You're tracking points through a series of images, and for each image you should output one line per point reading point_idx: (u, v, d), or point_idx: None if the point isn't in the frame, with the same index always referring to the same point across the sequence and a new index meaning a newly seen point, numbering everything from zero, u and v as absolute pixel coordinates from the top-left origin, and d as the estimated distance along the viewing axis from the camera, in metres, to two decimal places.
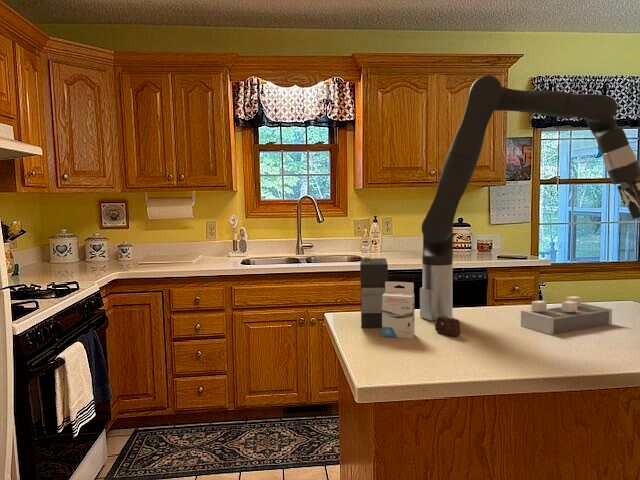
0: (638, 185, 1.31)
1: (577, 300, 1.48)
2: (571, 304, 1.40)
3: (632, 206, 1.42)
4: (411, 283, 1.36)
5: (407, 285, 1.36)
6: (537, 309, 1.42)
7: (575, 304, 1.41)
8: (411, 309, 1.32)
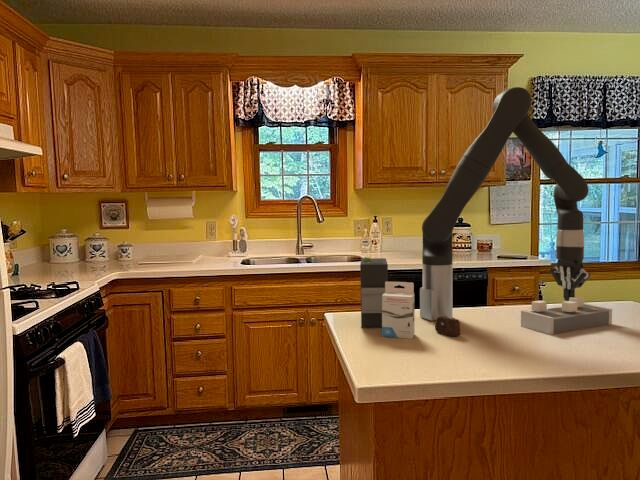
0: (586, 276, 1.44)
1: (580, 301, 1.47)
2: (571, 304, 1.40)
3: None
4: (411, 283, 1.36)
5: (407, 285, 1.36)
6: (537, 309, 1.42)
7: (575, 304, 1.41)
8: (411, 309, 1.32)
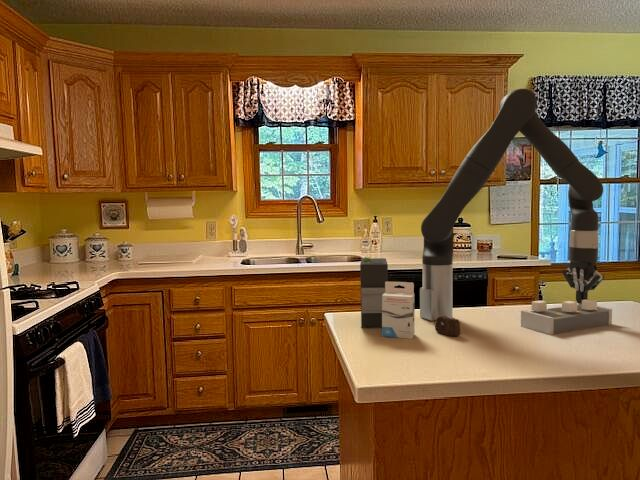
0: (600, 278, 1.40)
1: (593, 303, 1.43)
2: (571, 304, 1.40)
3: None
4: (411, 283, 1.36)
5: (407, 285, 1.36)
6: (537, 309, 1.42)
7: (575, 304, 1.41)
8: (411, 309, 1.32)
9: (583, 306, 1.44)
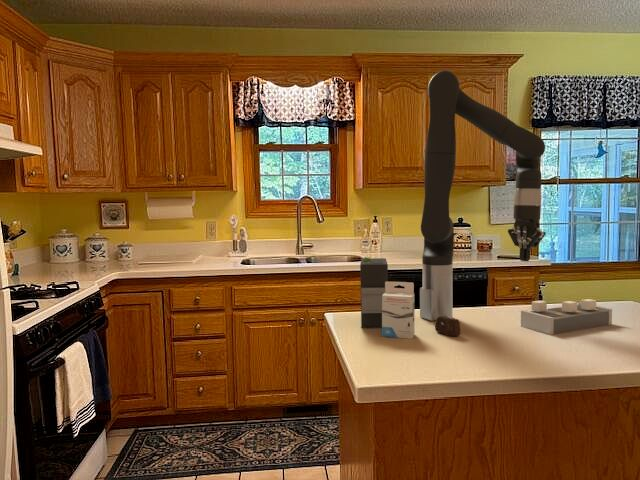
0: (541, 235, 1.43)
1: (592, 303, 1.43)
2: (571, 304, 1.40)
3: None
4: (411, 283, 1.36)
5: (407, 285, 1.36)
6: (537, 309, 1.42)
7: (575, 304, 1.41)
8: (411, 309, 1.32)
9: (582, 306, 1.44)
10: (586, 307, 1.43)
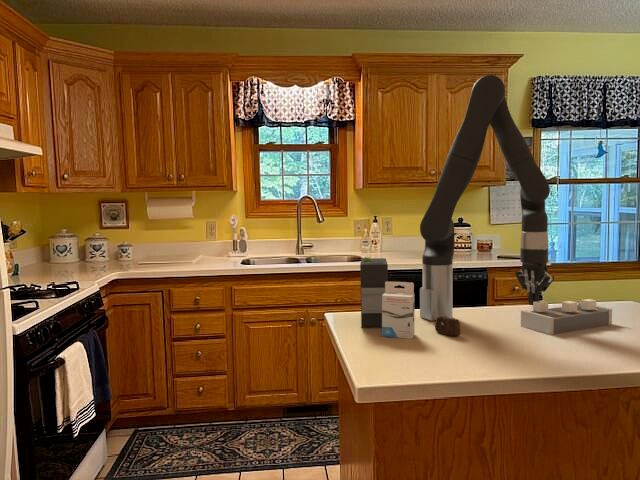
0: (550, 280, 1.39)
1: (592, 303, 1.43)
2: (571, 304, 1.40)
3: None
4: (411, 283, 1.36)
5: (407, 285, 1.36)
6: (539, 309, 1.41)
7: (575, 304, 1.41)
8: (411, 309, 1.32)
9: (582, 306, 1.44)
10: (586, 307, 1.43)
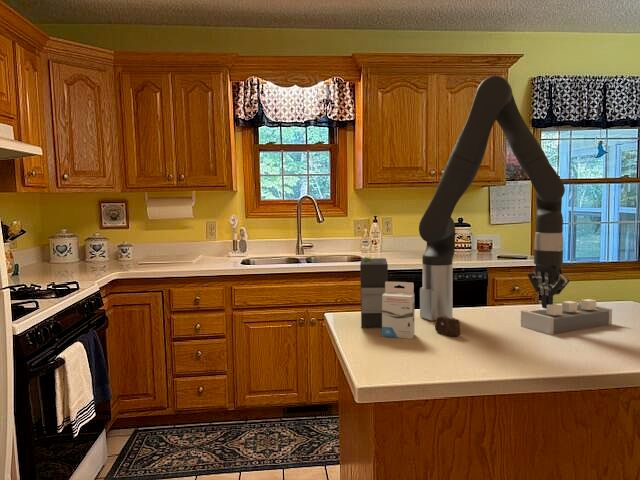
0: (565, 282, 1.35)
1: (592, 303, 1.43)
2: (571, 304, 1.40)
3: None
4: (411, 283, 1.36)
5: (407, 285, 1.36)
6: (552, 313, 1.37)
7: (575, 304, 1.41)
8: (411, 309, 1.32)
9: (582, 306, 1.44)
10: (586, 307, 1.43)
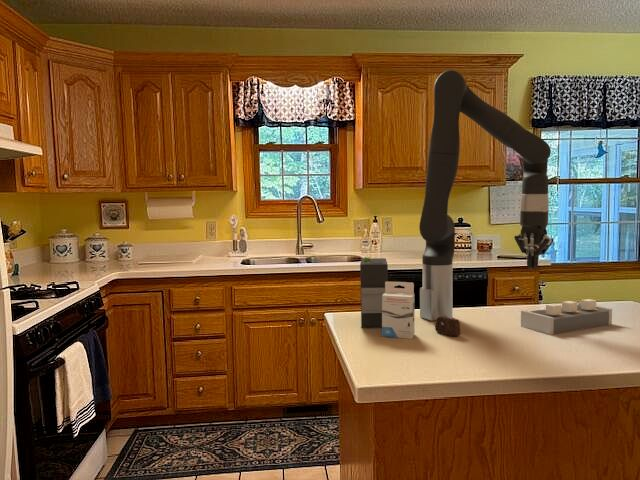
0: (549, 242, 1.39)
1: (592, 303, 1.43)
2: (571, 304, 1.40)
3: None
4: (411, 283, 1.36)
5: (407, 285, 1.36)
6: (552, 313, 1.37)
7: (575, 304, 1.41)
8: (411, 309, 1.32)
9: (582, 306, 1.44)
10: (586, 307, 1.43)
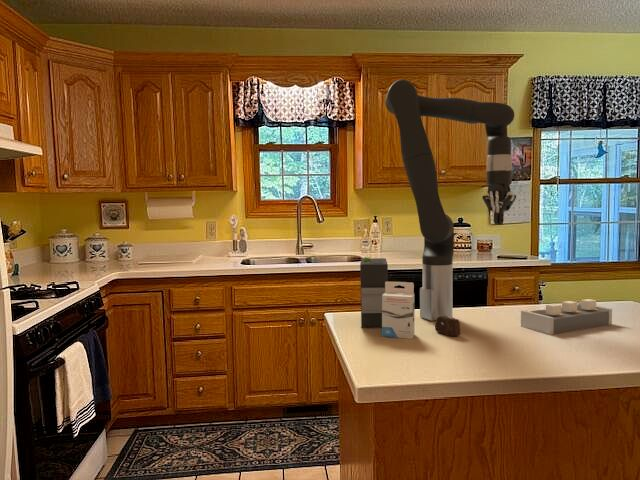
0: (512, 198, 1.51)
1: (592, 303, 1.43)
2: (571, 304, 1.40)
3: None
4: (411, 283, 1.36)
5: (407, 285, 1.36)
6: (552, 313, 1.37)
7: (575, 304, 1.41)
8: (411, 309, 1.32)
9: (582, 306, 1.44)
10: (586, 307, 1.43)
